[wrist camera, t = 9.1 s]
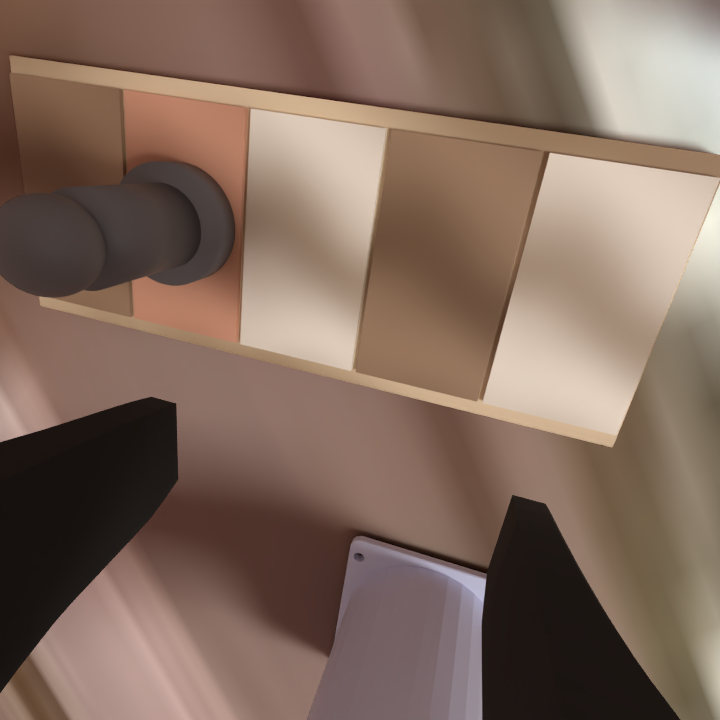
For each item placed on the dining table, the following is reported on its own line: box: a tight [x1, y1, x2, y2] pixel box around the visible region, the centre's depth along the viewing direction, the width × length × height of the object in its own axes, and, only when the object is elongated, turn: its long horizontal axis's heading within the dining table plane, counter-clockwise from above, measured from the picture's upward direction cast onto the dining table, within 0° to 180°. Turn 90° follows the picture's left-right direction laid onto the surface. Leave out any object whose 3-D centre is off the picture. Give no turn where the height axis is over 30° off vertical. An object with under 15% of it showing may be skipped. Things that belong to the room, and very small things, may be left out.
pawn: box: [0, 161, 235, 298], centre depth 16 cm, size 4×4×8 cm
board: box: [9, 55, 720, 447], centre depth 19 cm, size 10×25×1 cm, turn 83°
